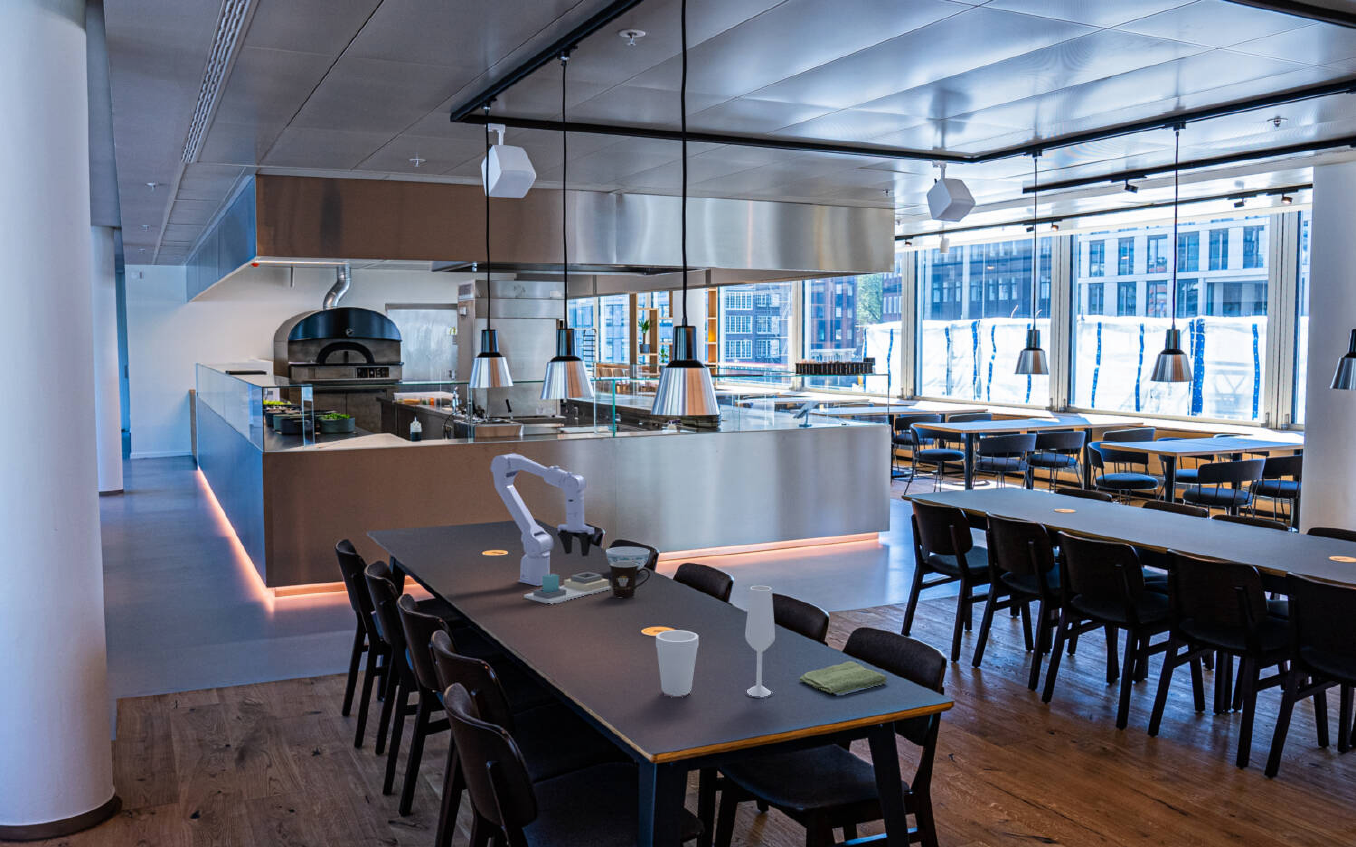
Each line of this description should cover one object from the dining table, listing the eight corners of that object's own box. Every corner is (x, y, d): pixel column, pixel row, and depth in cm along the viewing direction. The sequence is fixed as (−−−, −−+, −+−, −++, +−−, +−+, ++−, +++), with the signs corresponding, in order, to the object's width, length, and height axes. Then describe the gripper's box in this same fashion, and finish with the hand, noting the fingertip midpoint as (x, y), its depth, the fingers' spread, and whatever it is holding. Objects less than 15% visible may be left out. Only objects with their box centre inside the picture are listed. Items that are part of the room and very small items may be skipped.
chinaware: (652, 569, 357) (652, 547, 357) (646, 578, 342) (646, 555, 342) (609, 567, 359) (609, 545, 358) (602, 577, 344) (602, 554, 343)
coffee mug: (604, 597, 316) (605, 565, 315) (619, 591, 324) (619, 560, 323) (637, 601, 311) (637, 569, 310) (651, 596, 318) (651, 564, 318)
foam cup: (696, 686, 233) (697, 630, 233) (698, 700, 224) (699, 641, 223) (655, 686, 233) (655, 630, 232) (655, 700, 224) (656, 641, 223)
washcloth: (795, 683, 238) (796, 670, 238) (852, 671, 248) (852, 658, 247) (833, 700, 227) (834, 686, 227) (891, 687, 237) (891, 673, 236)
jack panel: (524, 597, 313) (524, 583, 313) (584, 583, 333) (584, 570, 333) (551, 604, 306) (551, 589, 305) (611, 589, 326) (611, 575, 326)
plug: (542, 595, 313) (542, 575, 313) (552, 592, 316) (552, 573, 316) (548, 596, 311) (548, 577, 311) (558, 594, 314) (559, 575, 314)
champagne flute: (771, 688, 233) (774, 584, 231) (775, 698, 226) (778, 591, 224) (742, 688, 232) (744, 584, 231) (745, 698, 226) (747, 591, 224)
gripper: (600, 512, 326) (601, 554, 327) (568, 509, 335) (569, 550, 336) (584, 515, 321) (586, 558, 321) (552, 512, 330) (554, 554, 331)
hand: (576, 554), depth 328 cm, fingers open, 7 cm apart
